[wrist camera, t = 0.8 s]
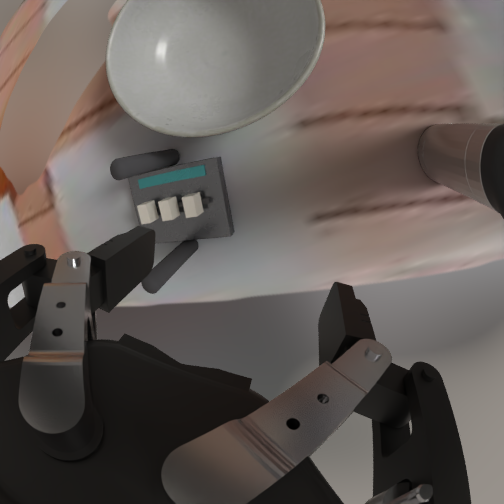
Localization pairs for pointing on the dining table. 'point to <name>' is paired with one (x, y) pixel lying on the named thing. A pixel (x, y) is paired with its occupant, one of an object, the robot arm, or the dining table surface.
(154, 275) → the cord post
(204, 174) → the panel
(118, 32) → the decorative bowl
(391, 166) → the dining table surface
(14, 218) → the dining table surface
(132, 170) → the dark gray rounded rod
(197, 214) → the paddles
